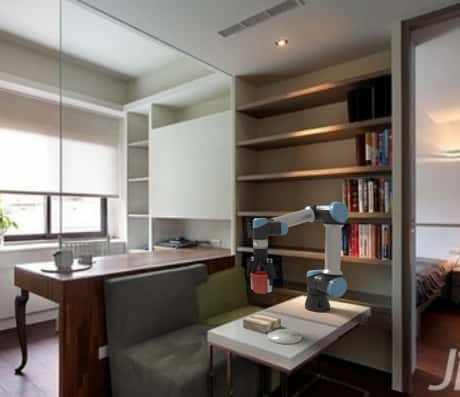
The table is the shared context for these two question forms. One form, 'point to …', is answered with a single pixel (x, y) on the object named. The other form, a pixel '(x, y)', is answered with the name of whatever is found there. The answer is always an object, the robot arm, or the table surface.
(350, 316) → the table surface
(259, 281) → the flower pot
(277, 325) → the stand
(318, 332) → the table surface
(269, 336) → the pale grey round plate
